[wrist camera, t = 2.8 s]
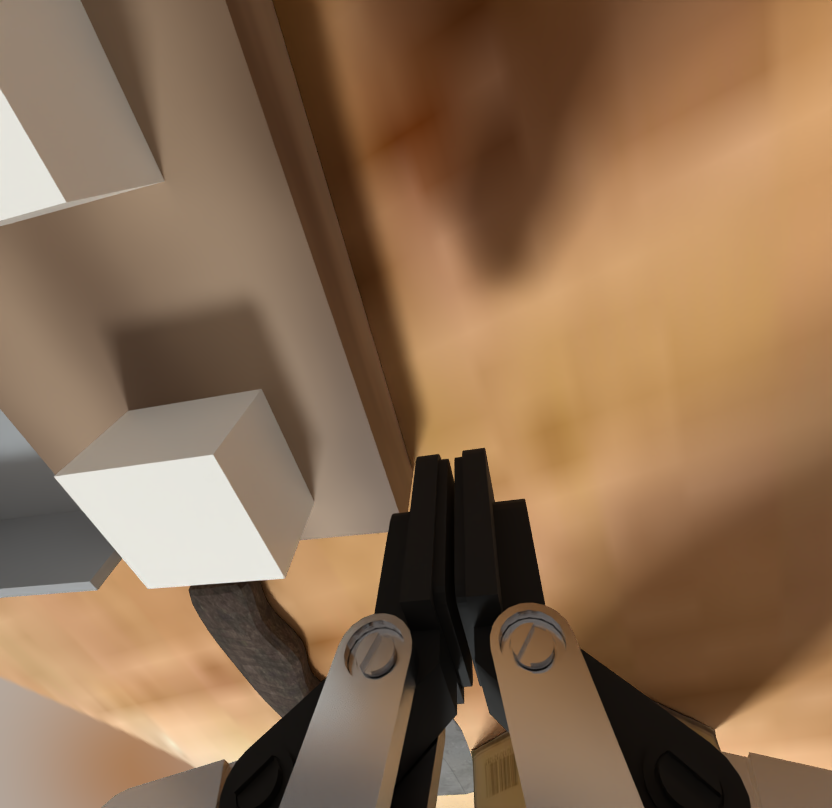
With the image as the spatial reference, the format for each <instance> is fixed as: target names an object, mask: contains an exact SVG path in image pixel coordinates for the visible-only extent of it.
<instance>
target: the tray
mask: <svg viewBox="0 0 832 808" xmlns="http://www.w3.org/2000/svg"><path fill="white" fill-rule="evenodd" d="M54 476H55V474H54V473H53V472H52V470H51V469H50V468H49V467H48V466H47V464H46V463H45V462H44V461H43V460H42V458H41V457H40V456H39V455H38V454H37V452H36V451H35V450H34V449H33V448H32V447H31V445H30V444H29V443H28V442H27V441H26V439H25V438H24V437H23V436H22V435H21V433H20V432H19V431H18V430H17V429H16V427H15V426H14V425H13V424H12V423H11V421H10V420H9V419H8V418H7V417H6V415H5V414H4V413H3V412H2V411H1V409H0V598H2V597H15V596H28V595H41V594H54V593H67V592H80V591H93V590H98V589H99V588H100V586H101V585H102V584H103V582H104V581H105V580H106V579H107V577H108V576H109V575H110V573H111V572H112V571H113V570H114V568H115V567H116V566H117V564H118V563H119V562H120V560H121V559H122V557H121V556H120V555H119V554H118V552H117V551H116V550H115V549H114V548H113V546H112V545H111V544H110V543H109V542H108V541H107V539H106V538H105V537H104V536H103V535H102V533H101V532H100V531H99V530H98V529H97V527H96V526H95V525H94V524H93V523H92V521H91V520H90V519H89V518H88V517H87V516H86V514H85V513H84V512H83V511H82V510H81V508H80V507H79V506H78V505H77V504H76V502H75V501H74V500H73V499H72V498H71V496H70V495H69V494H68V493H67V492H66V491H65V489H64V488H63V487H62V486H61V485H60V483H59V482H58V481H57V480H56V479H55V477H54Z"/></svg>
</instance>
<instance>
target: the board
mask: <svg viewBox="0 0 832 808" xmlns="http://www.w3.org/2000/svg"><path fill="white" fill-rule="evenodd" d="M81 2H82V5H83V7H84V9H85V11H86V13H87V15H88V17H89V20H90V22H91V24H92V26H93V28H94V30H95V32H96V35H97V37H98V39H99V41H100V43H101V45H102V48H103V50H104V52H105V54H106V56H107V58H108V60H109V63H110V65H111V67H112V69H113V71H114V73H115V75H116V78H117V80H118V82H119V84H120V86H121V88H122V90H123V93H124V95H125V97H126V99H127V101H128V103H129V105H130V108H131V110H132V112H133V114H134V116H135V118H136V120H137V123H138V125H139V127H140V129H141V131H142V133H143V135H144V138H145V140H146V142H147V144H148V146H149V148H150V150H151V153H152V155H153V157H154V159H155V161H156V163H157V165H158V168H159V170H160V172H161V174H162V176H163V178H164V182H160V183H157V184H153V185H149V186H146V187H142V188H138V189H135V190H131V191H128V192H124V193H120V194H117V195H113V196H109V197H106V198H102V199H98V200H95V201H91V202H87V203H84V204H80V205H76V206H73V207H69V208H66V209H62V210H58V211H55V212H51V213H47V214H44V215H40V216H36V217H33V218H29V219H25V220H22V221H18V222H14V223H11V224H7V225H3V226H0V409H1V411H2V412H3V413H4V414H5V415H6V417H7V418H8V419H9V420H10V421H11V423H12V424H13V425H14V426H15V427H16V429H17V430H18V431H19V432H20V433H21V435H22V436H23V437H24V438H25V439H26V441H27V442H28V443H29V444H30V445H31V447H32V448H33V449H34V450H35V451H36V452H37V454H38V455H39V456H40V457H41V458H42V460H43V461H44V462H45V463H46V464H47V466H48V467H49V468H50V469H51V470H52V472H53V473H54V474H55V475H56V474H57V473H58V472H59V471H61V470H62V469H63V468H64V467H65V466H66V465H67V464H69V463H70V462H71V461H72V460H73V459H74V458H75V457H77V456H78V455H79V454H80V453H81V452H82V451H83V450H84V449H86V448H87V447H88V446H89V445H90V444H91V443H92V442H94V441H95V440H96V439H97V438H98V437H99V436H100V435H102V434H103V433H104V432H105V431H106V430H107V429H108V428H110V427H111V426H112V425H113V424H114V423H115V422H116V421H117V420H119V419H120V418H121V417H122V416H123V415H124V414H125V413H127V412H128V411H130V410H137V409H143V408H149V407H155V406H161V405H167V404H173V403H179V402H185V401H191V400H197V399H203V398H209V397H215V396H221V395H227V394H234V393H240V392H246V391H252V390H258V389H262V391H263V393H264V395H265V397H266V399H267V401H268V404H269V406H270V408H271V410H272V412H273V414H274V416H275V419H276V421H277V423H278V425H279V427H280V429H281V432H282V434H283V436H284V438H285V440H286V442H287V444H288V447H289V449H290V451H291V453H292V455H293V457H294V459H295V462H296V464H297V466H298V468H299V470H300V472H301V474H302V477H303V479H304V481H305V483H306V485H307V487H308V489H309V492H310V494H311V496H312V498H313V500H314V504H313V507H312V509H311V512H310V515H309V517H308V520H307V523H306V525H305V528H304V530H303V533H302V536H301V538H300V540H308V539H318V538H329V537H340V536H351V535H362V534H372V533H383V532H388V530H389V524H390V519H391V516H392V514H394V513H403V512H408V506H409V499H410V492H411V484H412V477H413V471H412V468H411V464H410V461H409V458H408V454H407V451H406V448H405V444H404V441H403V437H402V434H401V431H400V427H399V424H398V421H397V417H396V414H395V411H394V407H393V404H392V401H391V397H390V394H389V391H388V387H387V384H386V381H385V377H384V374H383V370H382V367H381V364H380V360H379V357H378V354H377V350H376V347H375V344H374V340H373V337H372V334H371V330H370V327H369V324H368V320H367V317H366V314H365V310H364V307H363V303H362V300H361V297H360V293H359V290H358V287H357V283H356V280H355V277H354V273H353V270H352V267H351V263H350V260H349V257H348V253H347V250H346V246H345V243H344V240H343V236H342V233H341V230H340V226H339V223H338V220H337V216H336V213H335V210H334V206H333V203H332V200H331V196H330V193H329V190H328V186H327V183H326V179H325V176H324V173H323V169H322V166H321V163H320V159H319V156H318V153H317V149H316V146H315V143H314V139H313V136H312V133H311V129H310V126H309V122H308V119H307V116H306V112H305V109H304V106H303V102H302V99H301V96H300V92H299V89H298V86H297V82H296V79H295V76H294V72H293V69H292V66H291V62H290V59H289V55H288V52H287V49H286V45H285V42H284V39H283V35H282V32H281V29H280V25H279V22H278V19H277V15H276V12H275V9H274V5H273V2H272V0H81Z"/></svg>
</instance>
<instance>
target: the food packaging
mask: <svg viewBox="0 0 832 808" xmlns="http://www.w3.org/2000/svg"><path fill="white" fill-rule="evenodd" d="M655 703H656V704H658V705H659V706H660V707H662V708H663V709H665V710H666V711H667V712H669V713H670V714H671V715H673V716H674V717H676V718H677V719H678V720H680V721H681V722H682V723H684V724H685V725H687V726H688V727H689V728H691V729H692V730H693V731H695V732H696V733H698V734H699V735H700V736H702V737H703V738H704V739H706V740H707V741H709V742H710V743H711V744H712V745H713V746H714V747H716V748H717V749H718V750H719V751H721V750H720V747H719V745H718V742H717V739H716V734H715V730H713V729H712V728H710V727H708V726H706V725H704V724H702V723H700V722H698V721H696V720H693V719H691V718H688V717H686V716H684V715H682V714H680V713H678V712H675V711H673V710H671V709H669V708H667V707H665V706H663V705H661V704H659V703H657V702H655ZM471 754H472V761H473V782H474V805H475V808H526V804H525V800H524V795H523V791H522V786H521V782H520V777H519V773H518V768H517V764H516V759H515V755H514V750H513V746H512V742H511V737H510V733H509V732H508V731H507V732H505V733H503V734H501V735H500V736H498V737H497V738H495V739H493V740H492V741H490V742H488V743H486V744H484V745H482V746H480V747H479V748H478V749H476V750H473V751H471Z"/></svg>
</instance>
